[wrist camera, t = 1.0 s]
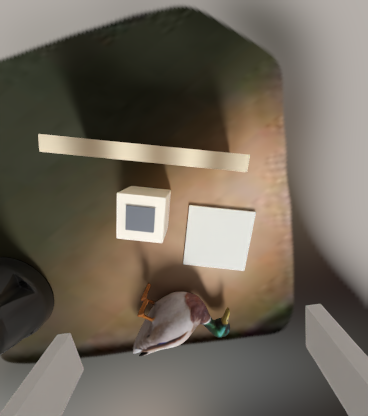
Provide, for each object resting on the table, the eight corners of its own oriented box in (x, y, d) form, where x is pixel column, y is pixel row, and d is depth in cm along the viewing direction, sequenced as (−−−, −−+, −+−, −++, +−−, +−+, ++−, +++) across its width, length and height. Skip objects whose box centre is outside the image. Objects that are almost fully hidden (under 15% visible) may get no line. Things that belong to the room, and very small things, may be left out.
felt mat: (183, 263, 33) (183, 264, 32) (189, 204, 30) (189, 205, 30) (243, 269, 32) (244, 270, 32) (255, 211, 30) (255, 212, 29)
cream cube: (130, 223, 31) (115, 238, 25) (131, 185, 30) (116, 193, 24) (168, 226, 31) (162, 243, 25) (171, 189, 30) (165, 198, 24)
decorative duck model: (250, 336, 28) (192, 401, 31) (234, 298, 35) (188, 354, 38) (158, 292, 25) (105, 369, 28) (161, 260, 32) (118, 324, 35)
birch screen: (91, 153, 29) (39, 151, 19) (90, 141, 28) (37, 133, 19) (228, 166, 28) (247, 172, 19) (230, 155, 28) (250, 154, 18)
